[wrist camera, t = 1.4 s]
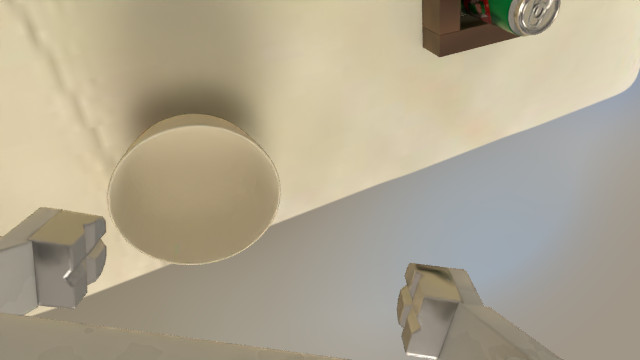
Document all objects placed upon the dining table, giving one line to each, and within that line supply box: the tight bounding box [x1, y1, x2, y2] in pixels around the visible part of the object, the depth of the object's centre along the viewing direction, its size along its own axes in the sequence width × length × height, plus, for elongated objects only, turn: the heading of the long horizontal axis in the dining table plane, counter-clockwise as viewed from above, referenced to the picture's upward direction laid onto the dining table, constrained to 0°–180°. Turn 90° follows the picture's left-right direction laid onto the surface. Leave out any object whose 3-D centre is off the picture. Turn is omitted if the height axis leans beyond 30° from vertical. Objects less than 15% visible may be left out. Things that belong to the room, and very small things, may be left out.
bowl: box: [107, 114, 281, 265], centre depth 48 cm, size 16×16×10 cm
